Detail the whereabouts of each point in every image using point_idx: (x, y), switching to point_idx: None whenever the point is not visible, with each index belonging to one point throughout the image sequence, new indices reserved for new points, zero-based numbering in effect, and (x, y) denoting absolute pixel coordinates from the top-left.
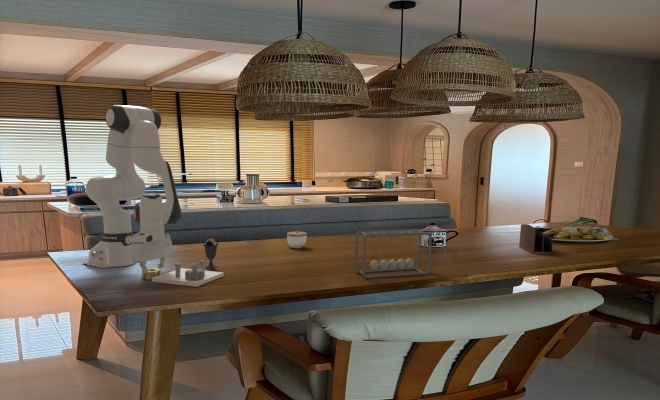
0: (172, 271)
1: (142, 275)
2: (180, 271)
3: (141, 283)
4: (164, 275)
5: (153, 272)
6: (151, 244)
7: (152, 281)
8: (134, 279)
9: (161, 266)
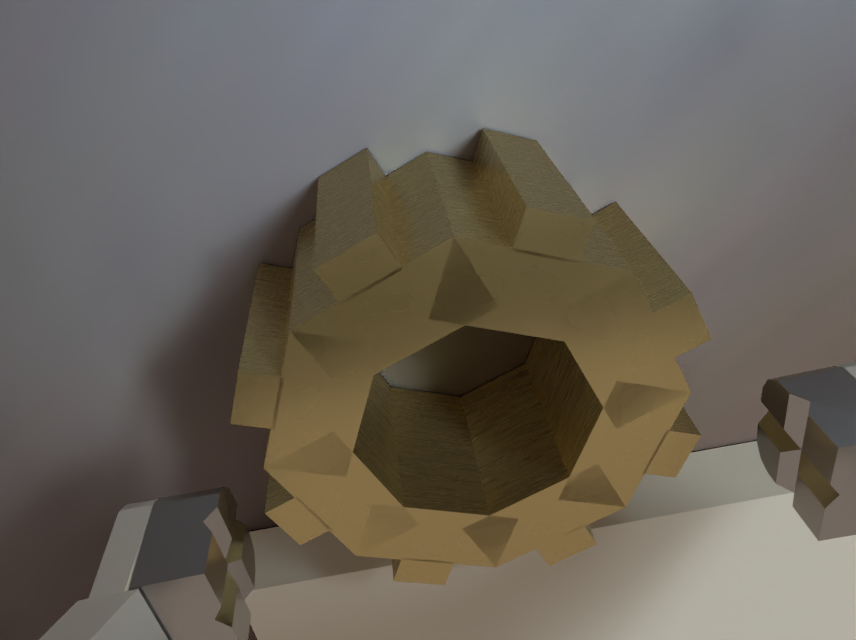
0: None
1: (250, 309)
2: (843, 577)
3: (41, 499)
4: (485, 606)
5: (390, 539)
6: None
7: None
8: (106, 137)
9: (788, 471)
